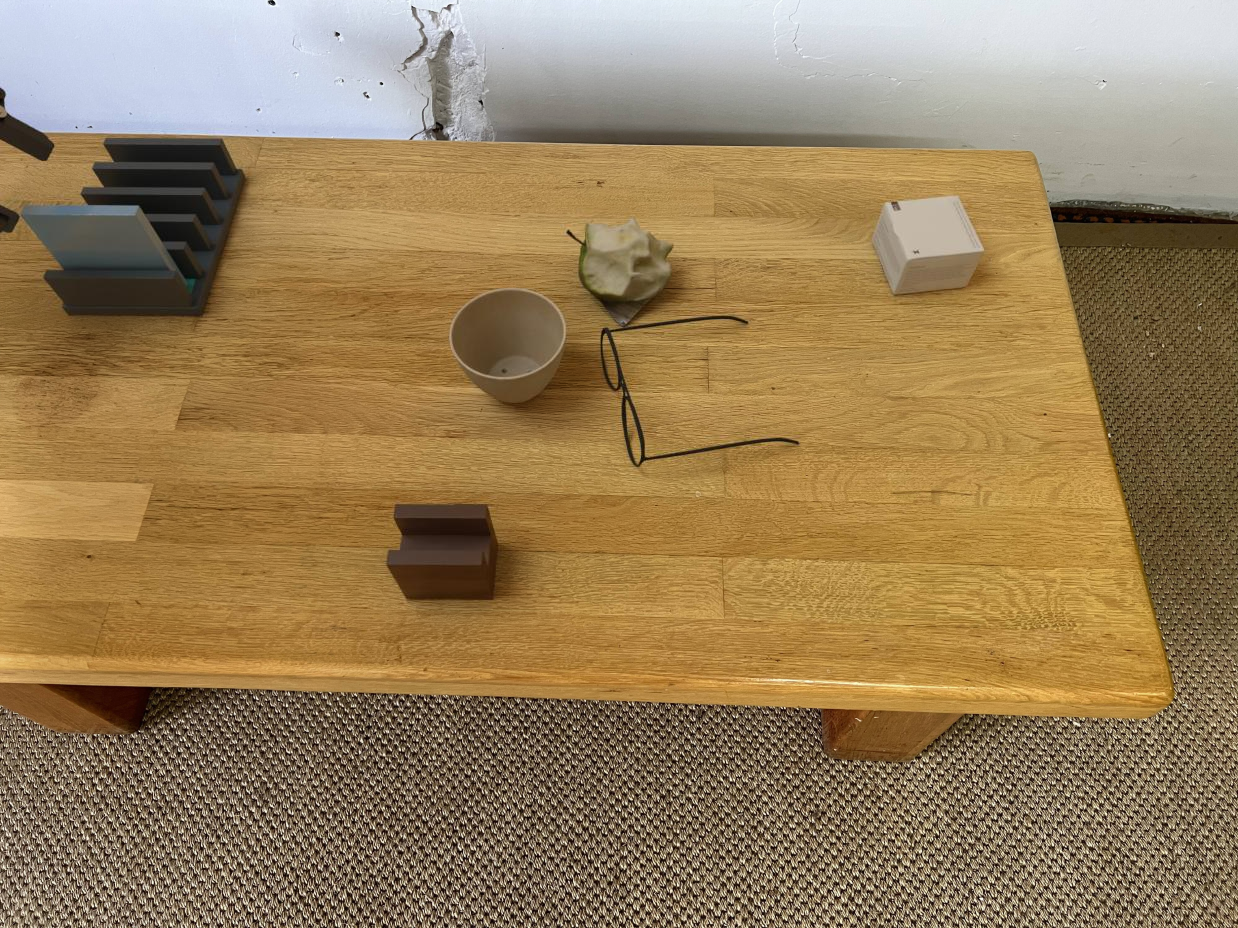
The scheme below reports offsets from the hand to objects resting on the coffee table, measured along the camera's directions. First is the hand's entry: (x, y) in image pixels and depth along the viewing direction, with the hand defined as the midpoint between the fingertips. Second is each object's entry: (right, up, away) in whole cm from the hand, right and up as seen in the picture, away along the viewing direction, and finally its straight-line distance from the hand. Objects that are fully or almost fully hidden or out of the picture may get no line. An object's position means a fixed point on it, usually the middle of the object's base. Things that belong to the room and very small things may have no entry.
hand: (33, 188), depth 73 cm
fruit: (+50, -5, +13) cm, 52 cm away
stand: (+36, -32, -2) cm, 48 cm away
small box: (+79, -3, +15) cm, 81 cm away
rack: (+3, -1, +16) cm, 16 cm away
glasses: (+56, -17, +6) cm, 59 cm away
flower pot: (+40, -16, +7) cm, 43 cm away
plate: (+2, -6, +11) cm, 13 cm away
